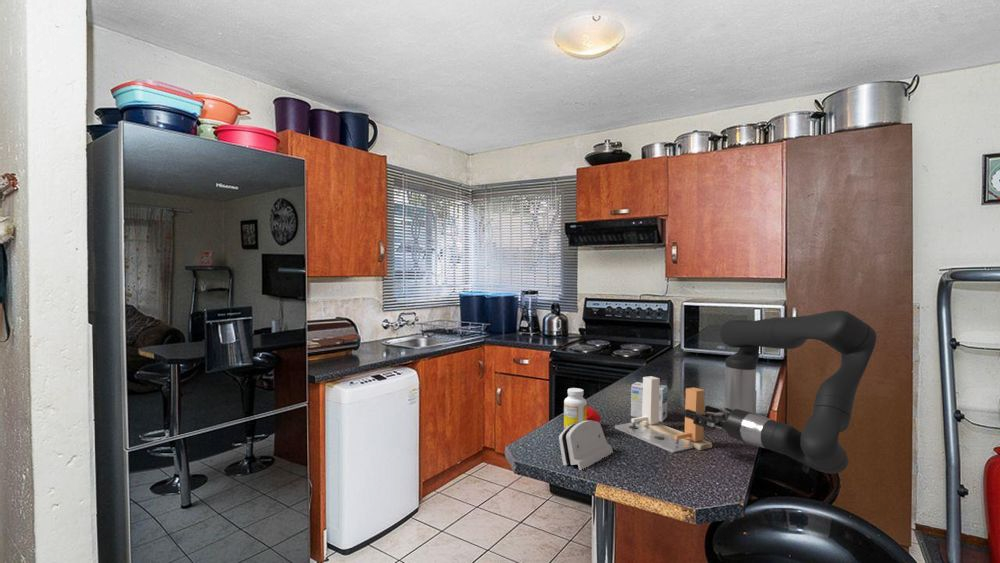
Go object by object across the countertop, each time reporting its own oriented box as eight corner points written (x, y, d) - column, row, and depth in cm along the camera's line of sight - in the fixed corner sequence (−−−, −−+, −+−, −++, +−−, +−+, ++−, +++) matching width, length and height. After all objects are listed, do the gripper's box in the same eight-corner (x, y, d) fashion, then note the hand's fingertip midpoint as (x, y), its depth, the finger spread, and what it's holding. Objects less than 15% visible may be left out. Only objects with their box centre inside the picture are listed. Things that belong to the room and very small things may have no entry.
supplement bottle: (579, 428, 140) (581, 386, 140) (589, 435, 134) (591, 392, 134) (559, 429, 138) (560, 387, 138) (569, 437, 132) (570, 393, 132)
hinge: (580, 471, 109) (569, 428, 111) (564, 472, 112) (554, 430, 114) (613, 452, 121) (603, 414, 123) (598, 453, 124) (588, 416, 126)
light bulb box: (667, 417, 154) (668, 385, 154) (662, 422, 148) (663, 389, 148) (635, 411, 159) (636, 381, 159) (629, 416, 154) (630, 384, 154)
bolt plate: (633, 424, 145) (633, 421, 145) (692, 448, 126) (692, 444, 126) (614, 428, 141) (614, 425, 141) (672, 452, 122) (672, 449, 122)
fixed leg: (649, 420, 145) (651, 376, 145) (658, 424, 142) (659, 378, 142) (628, 424, 141) (629, 378, 141) (636, 428, 138) (638, 381, 138)
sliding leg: (692, 436, 131) (694, 387, 131) (703, 440, 128) (704, 390, 128) (670, 441, 127) (671, 390, 127) (680, 446, 124) (682, 393, 124)
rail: (650, 424, 146) (650, 420, 146) (712, 447, 127) (712, 443, 127) (639, 426, 143) (639, 422, 143) (700, 450, 124) (700, 445, 124)
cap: (572, 417, 141) (589, 410, 138) (575, 406, 146) (591, 398, 143) (587, 437, 141) (604, 430, 139) (589, 425, 147) (605, 418, 144)
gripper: (768, 410, 118) (712, 395, 132) (734, 417, 111) (678, 400, 125) (767, 439, 118) (711, 420, 132) (733, 447, 111) (678, 427, 125)
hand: (695, 410), depth 129 cm, fingers open, 8 cm apart
